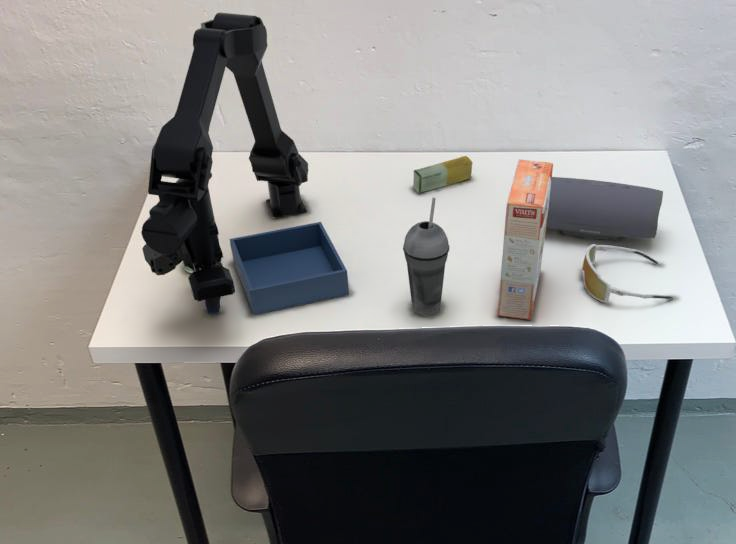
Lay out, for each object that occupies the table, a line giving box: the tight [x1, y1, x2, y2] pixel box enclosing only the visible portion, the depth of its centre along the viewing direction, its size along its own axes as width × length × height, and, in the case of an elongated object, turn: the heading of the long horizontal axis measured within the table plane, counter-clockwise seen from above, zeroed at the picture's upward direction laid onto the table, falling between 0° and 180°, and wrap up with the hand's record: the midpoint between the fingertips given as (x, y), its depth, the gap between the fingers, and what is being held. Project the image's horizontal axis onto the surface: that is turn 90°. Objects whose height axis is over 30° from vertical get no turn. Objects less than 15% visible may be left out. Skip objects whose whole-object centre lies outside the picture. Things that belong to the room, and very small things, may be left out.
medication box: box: [412, 155, 473, 195], centre depth 174 cm, size 12×3×4 cm, turn 118°
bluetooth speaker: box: [546, 176, 664, 241], centre depth 159 cm, size 23×9×10 cm, turn 77°
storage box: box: [229, 221, 350, 316], centre depth 151 cm, size 16×16×5 cm
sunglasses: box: [581, 243, 675, 303], centre depth 150 cm, size 14×15×5 cm
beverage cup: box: [402, 197, 450, 317], centre depth 139 cm, size 7×7×20 cm
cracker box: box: [497, 159, 554, 321], centre depth 142 cm, size 14×6×21 cm, turn 168°
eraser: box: [204, 300, 221, 314], centre depth 143 cm, size 2×2×7 cm
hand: (212, 302), depth 144 cm, fingers closed on eraser, 2 cm apart
